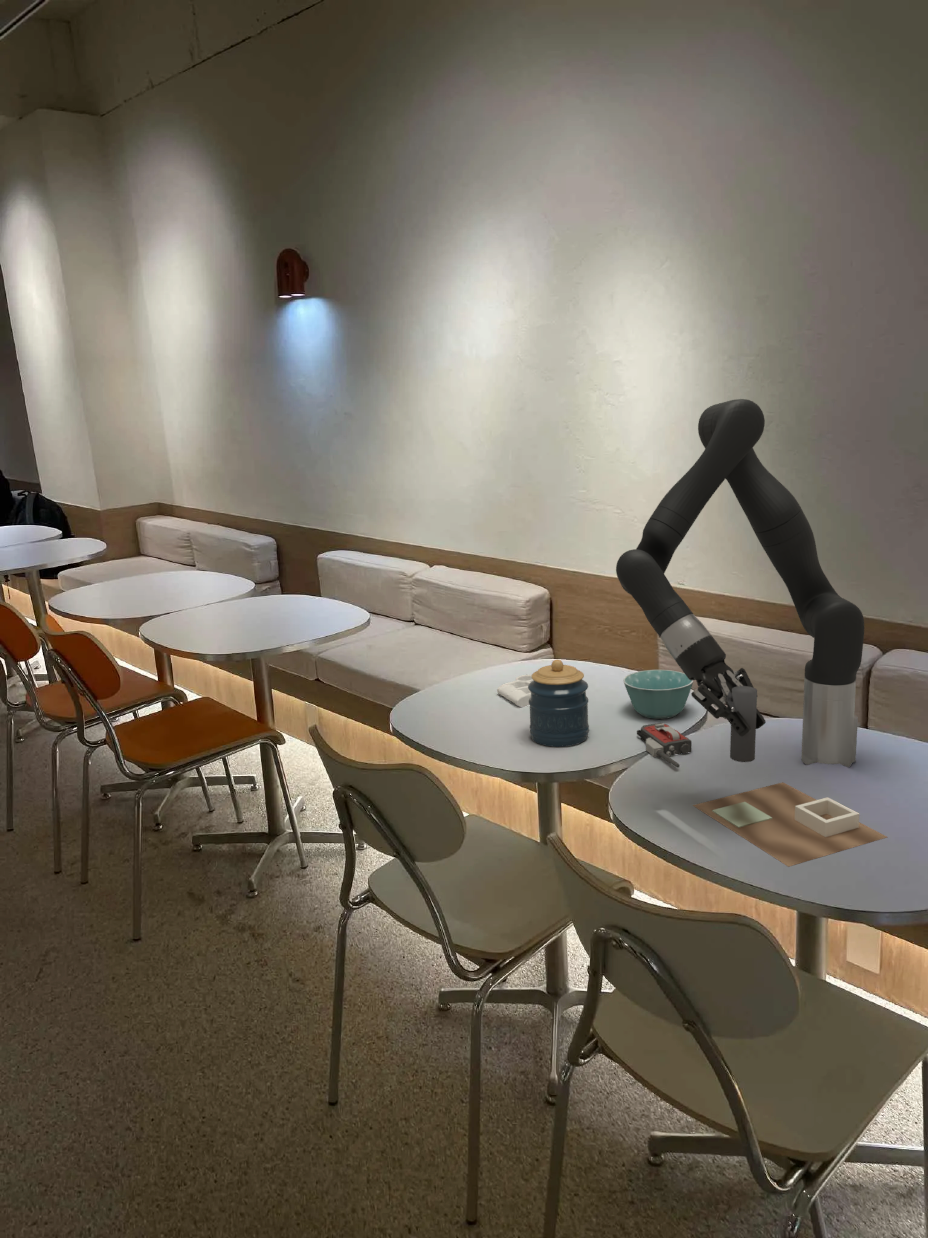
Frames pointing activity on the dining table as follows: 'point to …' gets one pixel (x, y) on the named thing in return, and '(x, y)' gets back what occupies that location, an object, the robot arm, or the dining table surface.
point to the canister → (558, 706)
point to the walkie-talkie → (664, 741)
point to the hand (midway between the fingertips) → (753, 729)
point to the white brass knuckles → (517, 690)
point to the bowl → (658, 692)
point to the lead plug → (747, 707)
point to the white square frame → (840, 823)
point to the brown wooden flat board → (781, 824)
